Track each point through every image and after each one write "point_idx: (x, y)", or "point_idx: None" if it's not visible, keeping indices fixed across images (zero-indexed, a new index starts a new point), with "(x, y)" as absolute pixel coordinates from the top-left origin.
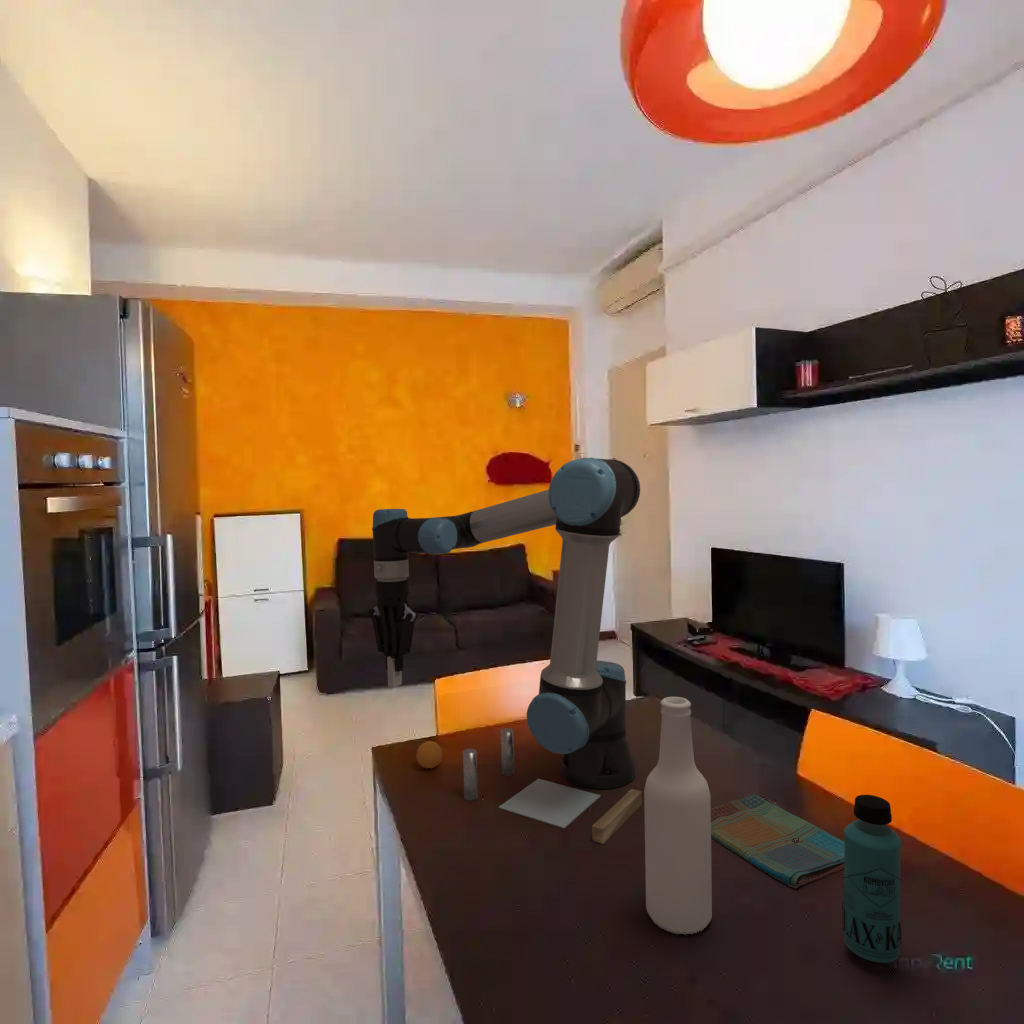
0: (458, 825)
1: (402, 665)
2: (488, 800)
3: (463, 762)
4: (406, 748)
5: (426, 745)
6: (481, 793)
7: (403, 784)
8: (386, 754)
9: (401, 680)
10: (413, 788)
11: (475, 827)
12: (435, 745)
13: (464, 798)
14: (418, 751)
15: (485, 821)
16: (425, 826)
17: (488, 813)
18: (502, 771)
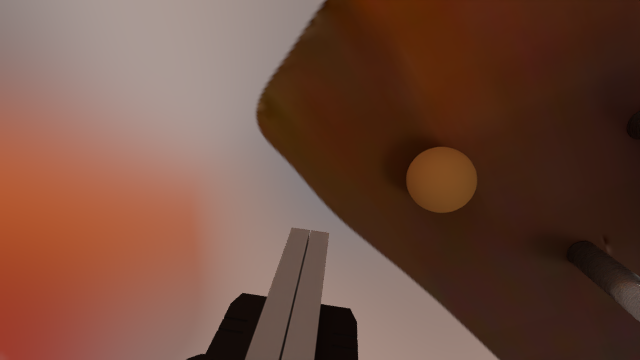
0: (587, 332)
1: (355, 344)
2: (622, 250)
3: (632, 315)
4: (313, 97)
5: (449, 205)
6: (599, 231)
7: (418, 252)
8: (292, 148)
9: (326, 245)
10: (446, 258)
11: (621, 330)
12: (470, 189)
13: (569, 260)
14: (424, 207)
15: None
16: (531, 348)
17: None
18: (637, 138)
